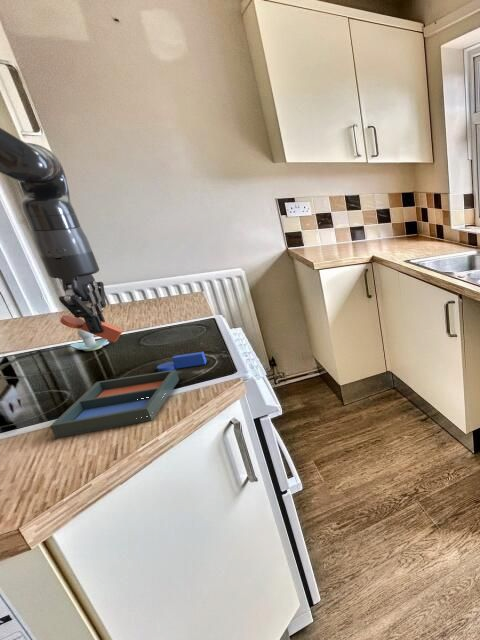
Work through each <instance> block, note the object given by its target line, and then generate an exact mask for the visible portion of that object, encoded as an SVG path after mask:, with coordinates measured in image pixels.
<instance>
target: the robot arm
mask: <svg viewBox="0 0 480 640" xmlns="http://www.w3.org/2000/svg"><path fill="white" fill-rule="evenodd" d="M0 174H1V175H4V176H5V177H7V178H10V179H12V180H14V181H17V182H18V183H19V187H20V189H21V192H22V195H23V198H22V200H21V202H20V207H21V211H22V213H23V216H24V218H25V220H26V223H27V225H28V227H29V229H30V230H31V235H32V239H33V243H34V246H35V248H36V250H37V252H38V254H39V256H40V259H41V261H42V263H43V266H44V268H45V270H46V272H47V274H48V276H49V277H50V278H51V279H52V278H53V279H59V280H61V284H62V289H63V291H64V295H62V296H58V300H59V302H60V303H61V304H62V305H63V306H64V307H65V308H66V310H68V311H69V312H70V313H71V315H72V316H75V317H76V318H81V319H83V320H84V322H86V325H87V327H88V329H89V332H90V333H91V334H97V333H102V332H103V331H104V330H103V327H102V325H101V324H102V323H101V321H102V322H105V323H107V321H106V319H105V317H104V315H103V313H104V308H106V306H107V305H106V296H105V295H106V294H105V284H104V283H103V281H96V279H95V277H94V276H93V275H94V274H97V273H99V271H100V267H99V264H98V262H97V259H96V257H95V255H94V252H93V249H92V246H91V243H90V241H89V239H88V236H87V235H86V234H85V232H84V230H83V228H82V226H81V223H80V221H79V218H78V215H77V212H76V211H75V209H74V207H73V203H72V201H71V195H70V190H69V185H68V181H67V177H66V173H65V170H64V168H63V165H62V163H61V161H60V160H59V158H58V157H57V156H56V154H55V153H54V152H52V151H51V150H50V149H48V148H46V147H45V146H42V145H39V144H36V143H31V142H25V141H24V140H22V139H20V138H18V137H16V136H15V135H13V134H11V133H10V132H8V131H6V130H5V129H3V128H1V127H0Z"/></svg>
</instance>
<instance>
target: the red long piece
mask: <svg viewBox="0 0 480 640" xmlns="http://www.w3.org/2000/svg"><path fill="white" fill-rule="evenodd" d="M59 322H60V323H61V324H62V325H63V326H65V327H68V328H71V329H77V330H79V329H81V330H84V331H86V332H89V329H88V327H87V325H86V322H85V320H84V319H83V318H81V317H79V318H76V317H75V316H74V315H73V314H64V315H62V317H61V318H60V319H59ZM105 322H106V321H105ZM105 322H102V321H101V323H102V324H101V325H102V327H103V330H104V331H103V332H102V333H97V334H94V336H97V337H99V338H101V339H107V341H108V342H112V343H115V342H116V341H118V339H119V338H120V336H121V335H122V333H123V332H124V329H123V328H120V327H118V326H115V325H113V324H110V323H108V322H106V323H105ZM89 333H90V332H89Z"/></svg>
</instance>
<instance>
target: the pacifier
mask: <svg viewBox="0 0 480 640" xmlns="http://www.w3.org/2000/svg"><path fill="white" fill-rule="evenodd" d="M77 335H78V337H80V338H81V339H82V341H83V342H73V343H70V347H71V348H72V349H76V350H78V351H80V350H81V351H83V352H92V351H97V350H99V349H101V348H103V347H104V346H107V345H109V344H110V341H109V340H107V339H104V338H101V339H97V340H95V337H94V336H95V335H94V334H91V333H89V332H86V331H84V330H81V328H80V329H77Z"/></svg>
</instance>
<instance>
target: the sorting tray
mask: <svg viewBox="0 0 480 640" xmlns="http://www.w3.org/2000/svg"><path fill="white" fill-rule="evenodd" d="M179 381H180V378H179V375H178V372H177V369H174V370H170V371H164V372H158V371H157V372H152V373H145V374H138V375H132V376H126V377H125V376H124V377H119V378H113V379H106V380H100V381H96V382H95V383H94V384H93V385H92V386H91V387H90V388H89V389H88V390H86V391H85V392H84V393H83V394H82V395H81V396H80V397H79V398H78V399H77V400H76V401H75V402H73V404H72V405H70V406H69V407H68V408H67V409H66V410H65V411H64V412H63V413H62V414H61V415H60V416H58V418H56V419H55V420H54V422H52V423H51V424H50V425H49V428H50V430H51V432H52V434H53V435H54V437H55V439H59V438H65V437H70V436H75V435H76V436H77V435H81V434H86V433H91V432H97V431H104V430H109V429H112V428H118V427H119V428H120V427H123V426H124V427H125V426H129V425H134V424H139V423H146V422H151V421H153V420H154V418H155V416H156V415H157V414H158V412H159V411H160V409H161V408H162V407H163V404H164V403H165V402H166V400H167V399H168V397H169V396H170V394H171V393H172V392H173V390H174V389H175V387H176V386H177V384H178V383H179ZM165 393H166V394H165ZM164 394H165V395H164ZM163 396H164V397H163ZM146 397H149V398H146ZM162 397H163V398H162ZM141 398H144V399H141ZM137 399H138V400H137ZM161 399H162V400H161ZM159 402H160V403H159ZM152 412H153V413H152ZM150 415H151V416H150ZM146 416H148V417H146ZM141 417H142V418H141ZM136 418H137V419H136Z"/></svg>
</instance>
